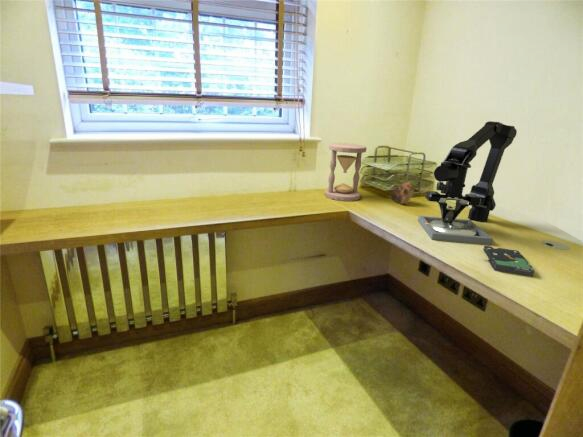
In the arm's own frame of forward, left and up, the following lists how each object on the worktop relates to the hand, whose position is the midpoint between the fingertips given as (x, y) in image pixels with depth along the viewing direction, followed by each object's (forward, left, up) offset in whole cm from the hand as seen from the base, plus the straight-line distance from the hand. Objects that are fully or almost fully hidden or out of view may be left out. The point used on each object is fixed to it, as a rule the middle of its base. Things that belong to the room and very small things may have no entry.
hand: (447, 219), depth 134 cm
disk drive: (-9, +29, -4) cm, 31 cm away
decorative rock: (+11, -33, -4) cm, 35 cm away
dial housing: (0, +6, -4) cm, 7 cm away
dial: (0, +6, -3) cm, 7 cm away
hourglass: (+39, -36, -4) cm, 53 cm away
